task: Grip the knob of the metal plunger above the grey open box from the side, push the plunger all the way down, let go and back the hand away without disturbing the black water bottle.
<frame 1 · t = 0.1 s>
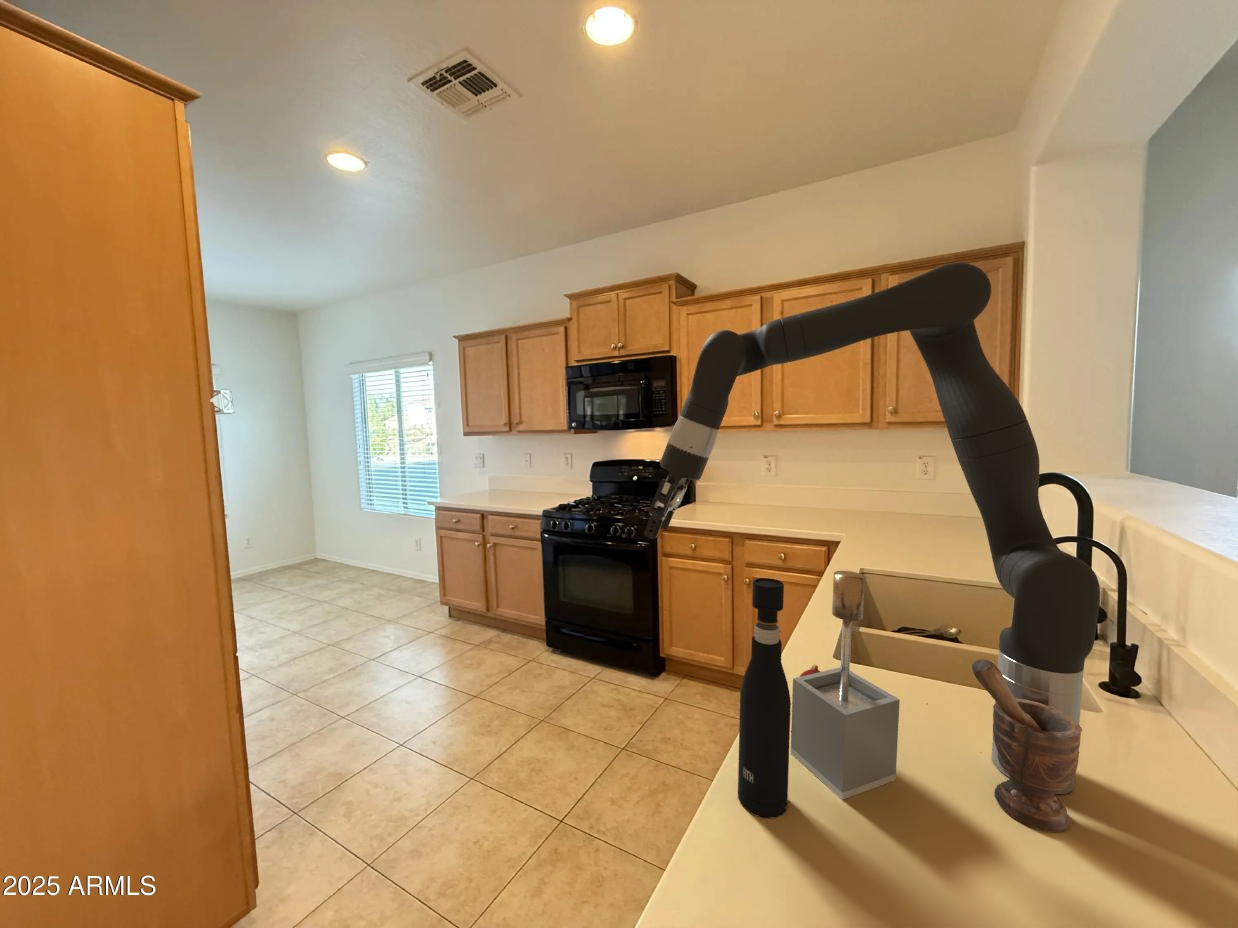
hand: (655, 532, 86), 31 cm above the worktop, tool tilted 20°, fingers open, 8 cm apart
plunger: (846, 640, 70), point 19 cm above the worktop, slide at 0.0 cm
grey open box: (841, 766, 72), on the worktop
red apple: (813, 709, 87), on the worktop
black water bottle: (762, 800, 66), on the worktop
mortar and pestle: (1018, 813, 64), on the worktop
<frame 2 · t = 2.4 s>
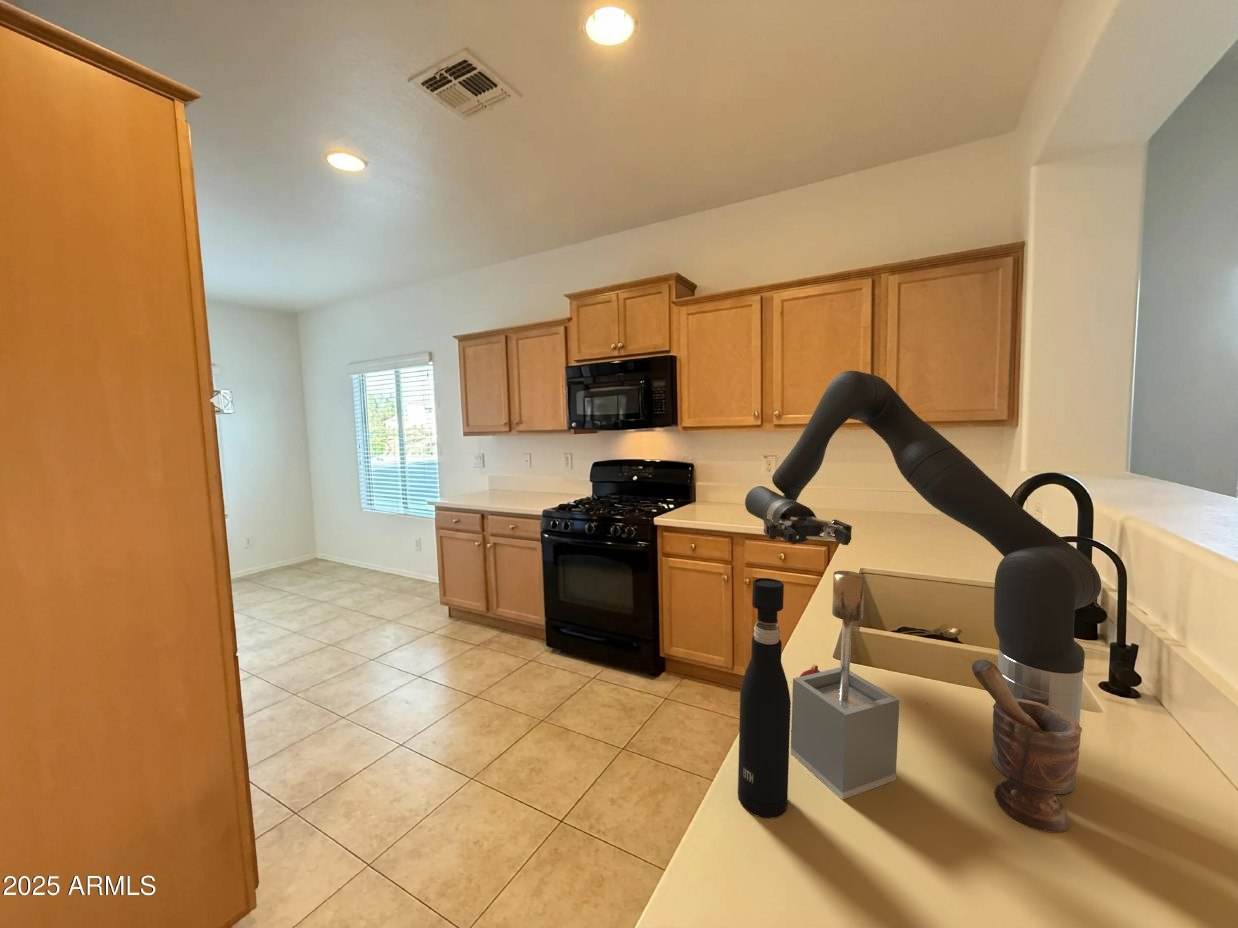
hand: (820, 538, 80), 32 cm above the worktop, tool horizontal, fingers open, 8 cm apart
nothing on the worktop moved.
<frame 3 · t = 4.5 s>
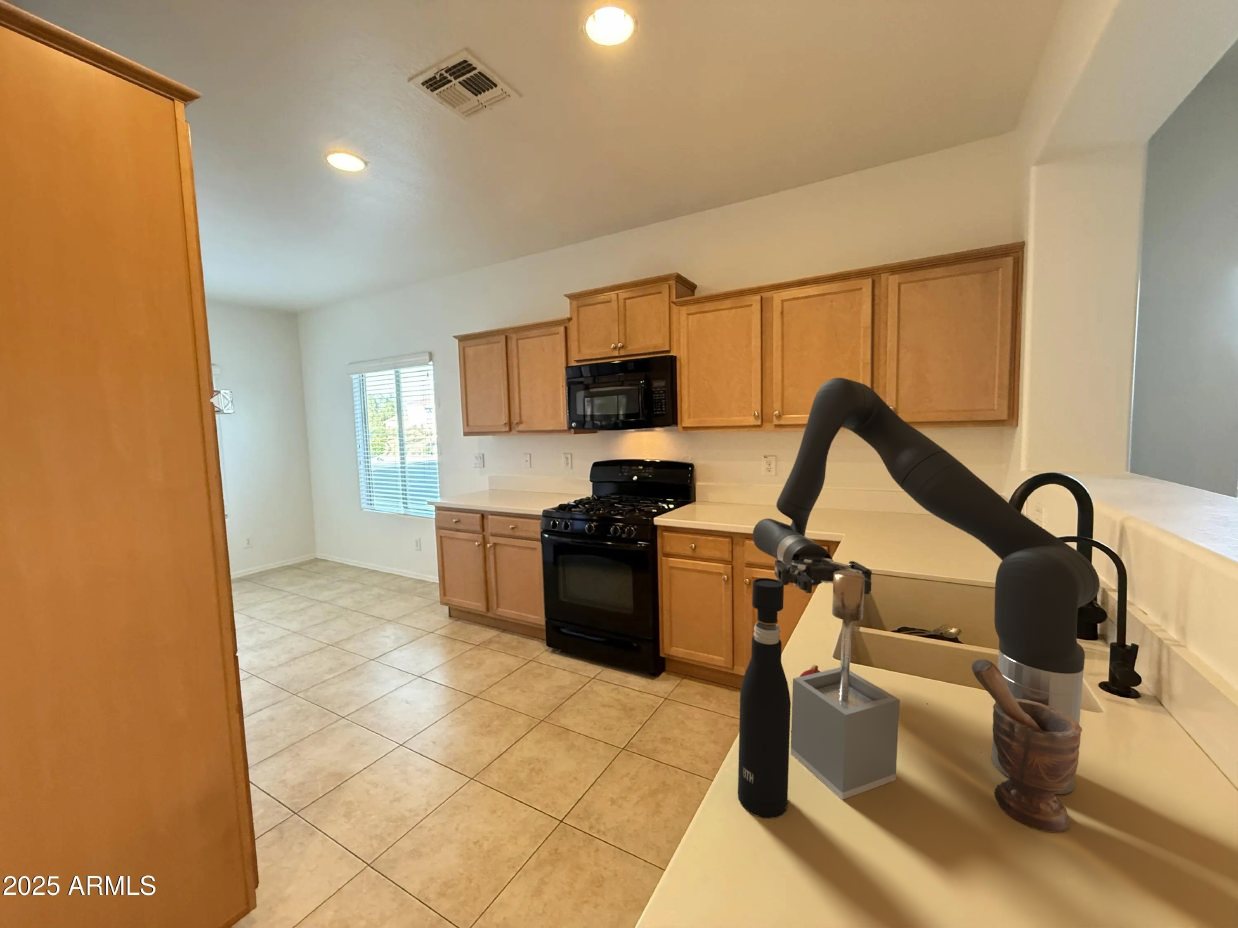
hand: (838, 587, 73), 26 cm above the worktop, tool horizontal, fingers open, 8 cm apart
nothing on the worktop moved.
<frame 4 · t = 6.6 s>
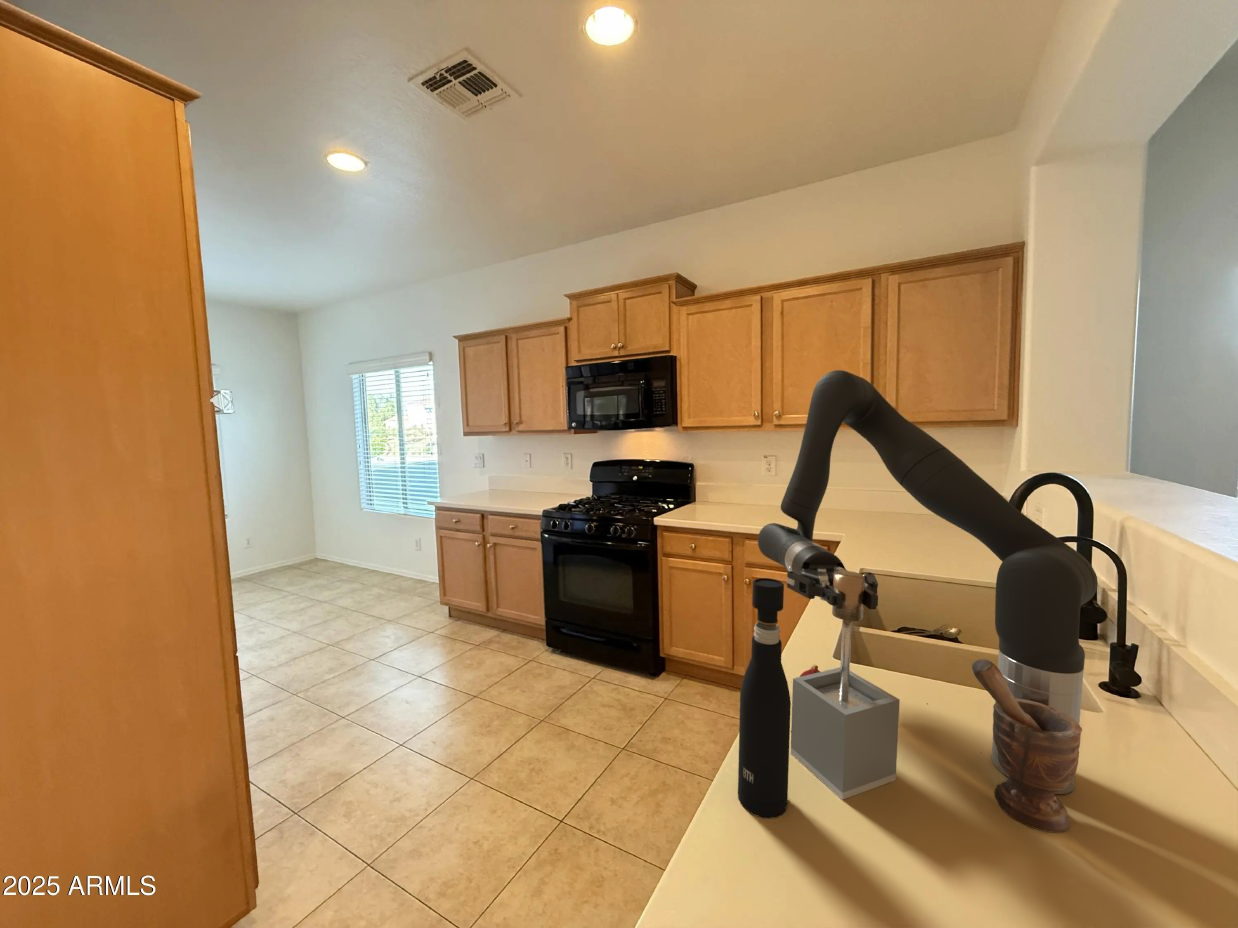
hand: (856, 602, 67), 26 cm above the worktop, tool horizontal, fingers closed on plunger, 4 cm apart
plunger: (846, 640, 70), point 19 cm above the worktop, slide at 0.0 cm, touching gripper
everything else where it was.
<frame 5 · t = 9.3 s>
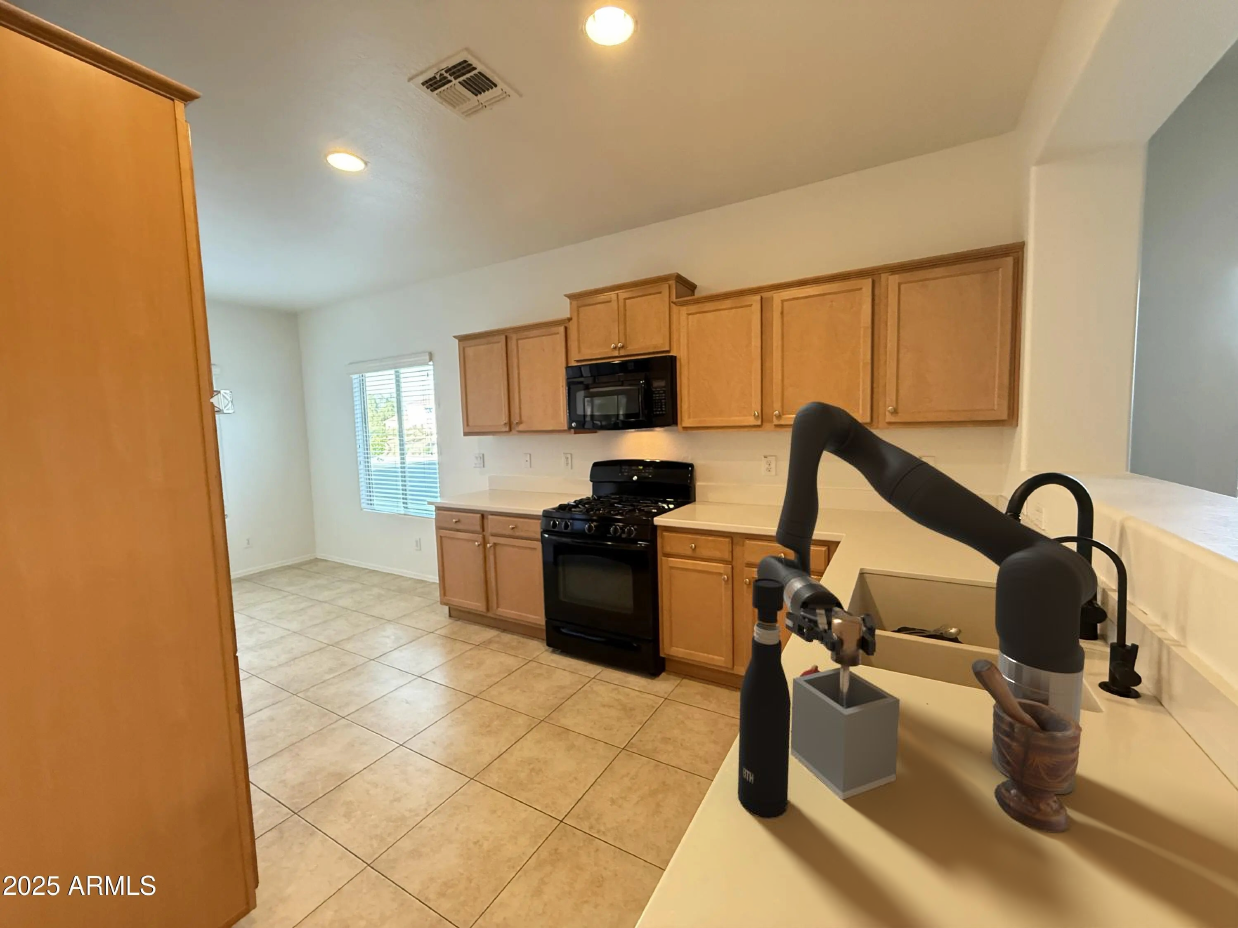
hand: (854, 648, 68), 19 cm above the worktop, tool horizontal, fingers closed on plunger, 4 cm apart
plunger: (844, 684, 71), point 13 cm above the worktop, slide at 6.7 cm, touching gripper
everything else where it was.
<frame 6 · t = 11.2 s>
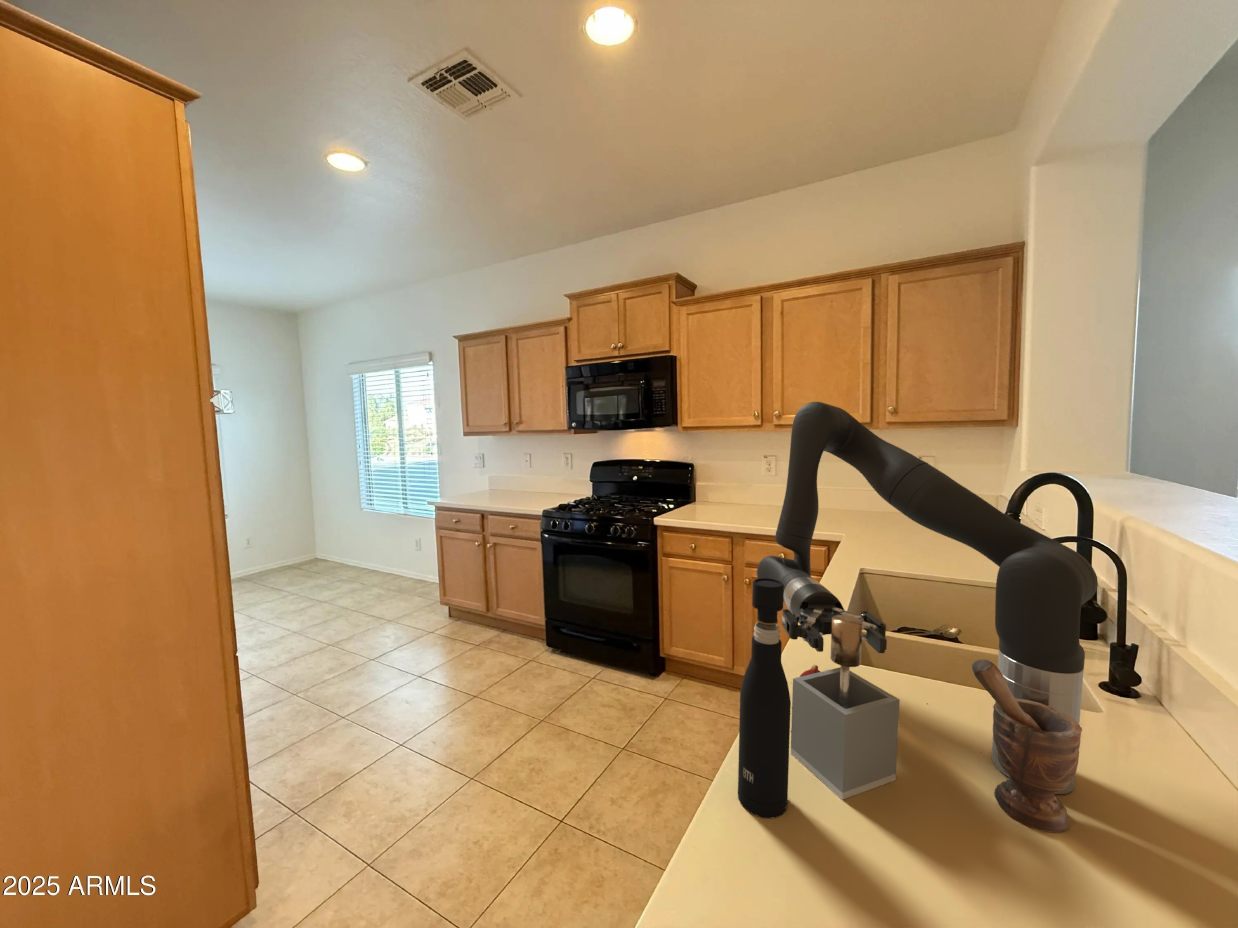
hand: (851, 646, 69), 19 cm above the worktop, tool horizontal, fingers open, 8 cm apart
plunger: (844, 684, 71), point 13 cm above the worktop, slide at 6.7 cm
everything else where it was.
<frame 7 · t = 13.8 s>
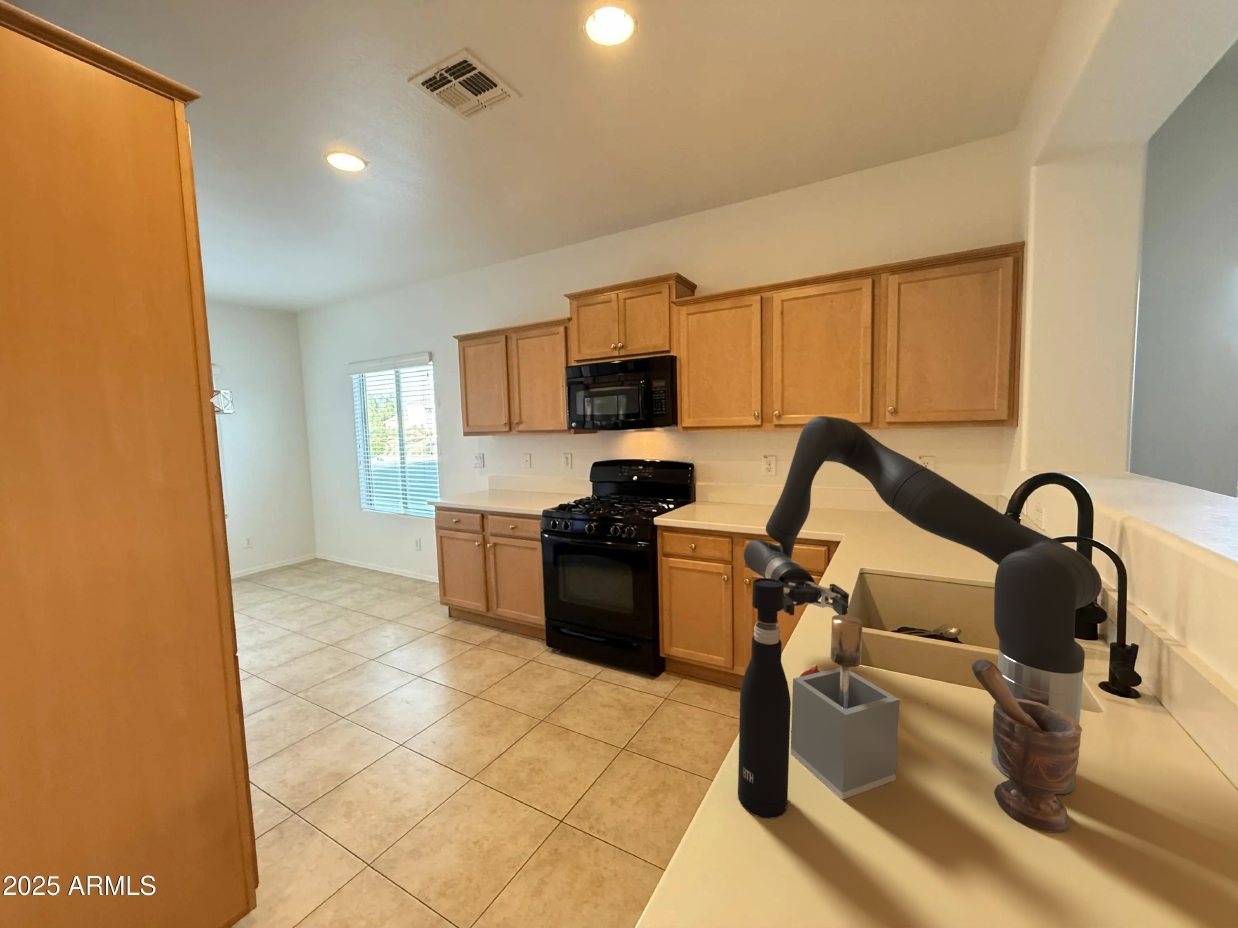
hand: (818, 610, 81), 19 cm above the worktop, tool horizontal, fingers open, 8 cm apart
nothing on the worktop moved.
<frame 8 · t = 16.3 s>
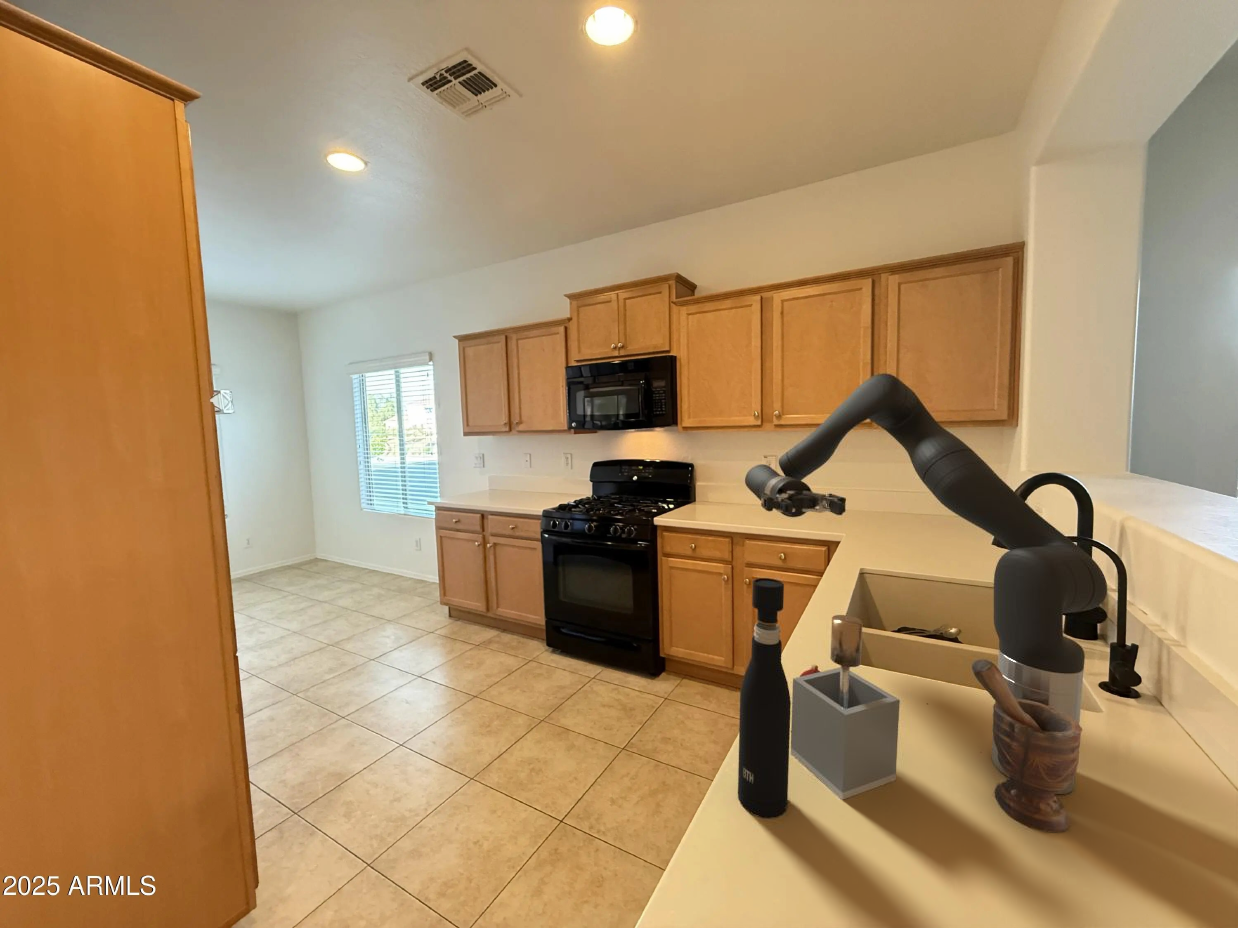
hand: (815, 509, 84), 36 cm above the worktop, tool horizontal, fingers open, 8 cm apart
nothing on the worktop moved.
at the end: plunger slide at 6.7 cm; the gripper is holding nothing; black water bottle moved 0.2 cm from its start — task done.
